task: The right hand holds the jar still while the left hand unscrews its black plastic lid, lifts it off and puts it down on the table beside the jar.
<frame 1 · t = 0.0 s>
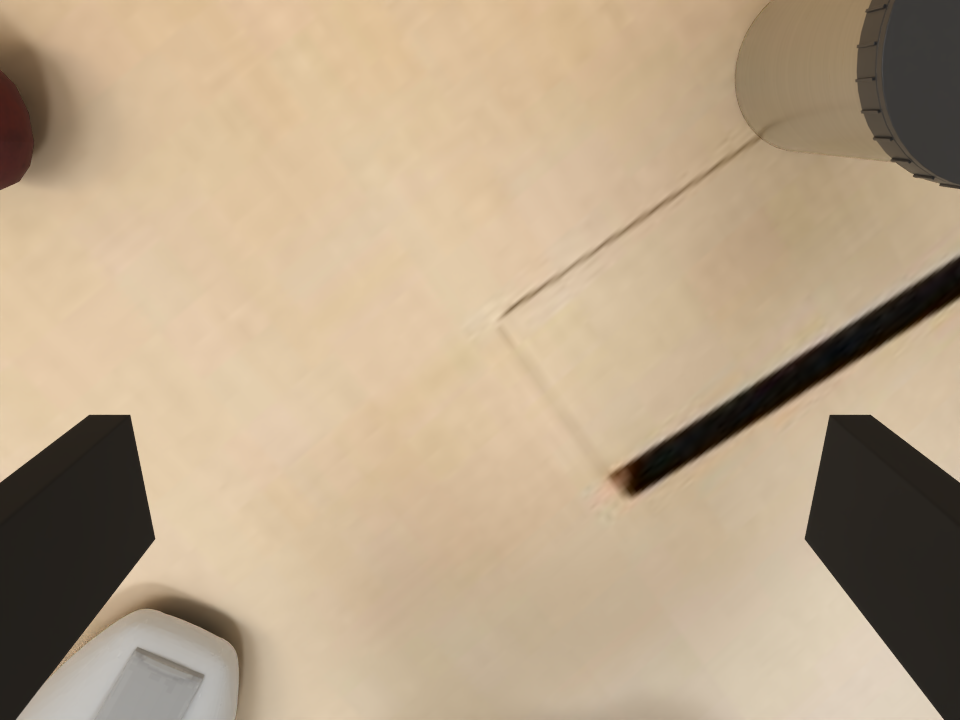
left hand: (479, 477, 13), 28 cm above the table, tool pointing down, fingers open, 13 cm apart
jar: (815, 68, 36), on the table
projector: (140, 709, 52), on the table
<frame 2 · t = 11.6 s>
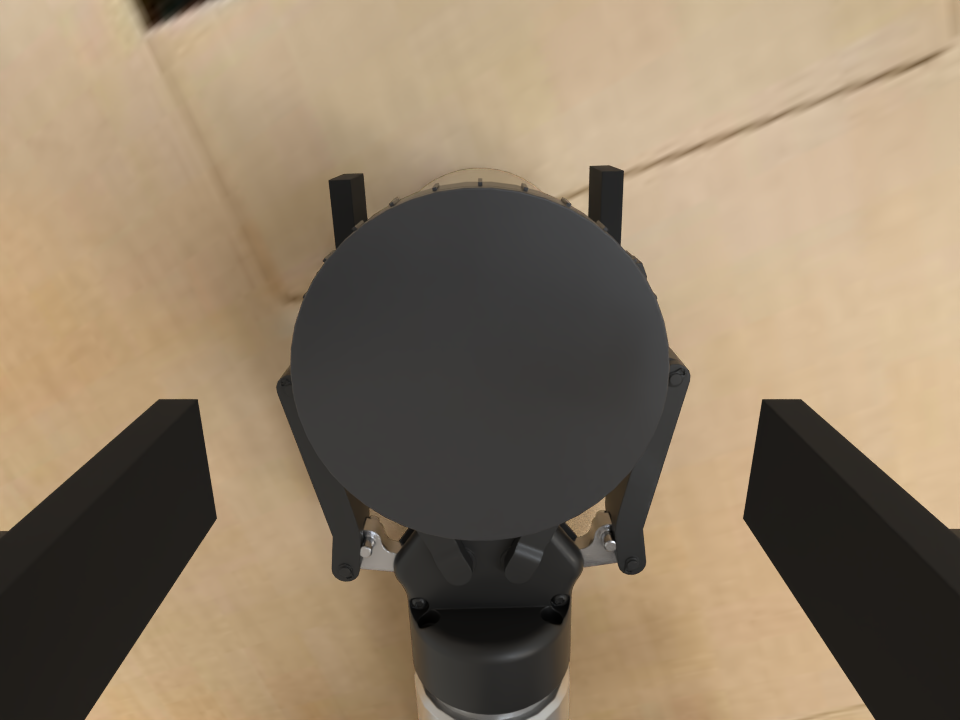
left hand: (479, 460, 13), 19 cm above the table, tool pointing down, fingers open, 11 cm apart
right hand: (475, 172, 24), fingers closed on jar, 9 cm apart
lid: (479, 377, 18), point 15 cm above the table, screwed on, not yet turned
jar: (480, 262, 31), on the table, touching right hand
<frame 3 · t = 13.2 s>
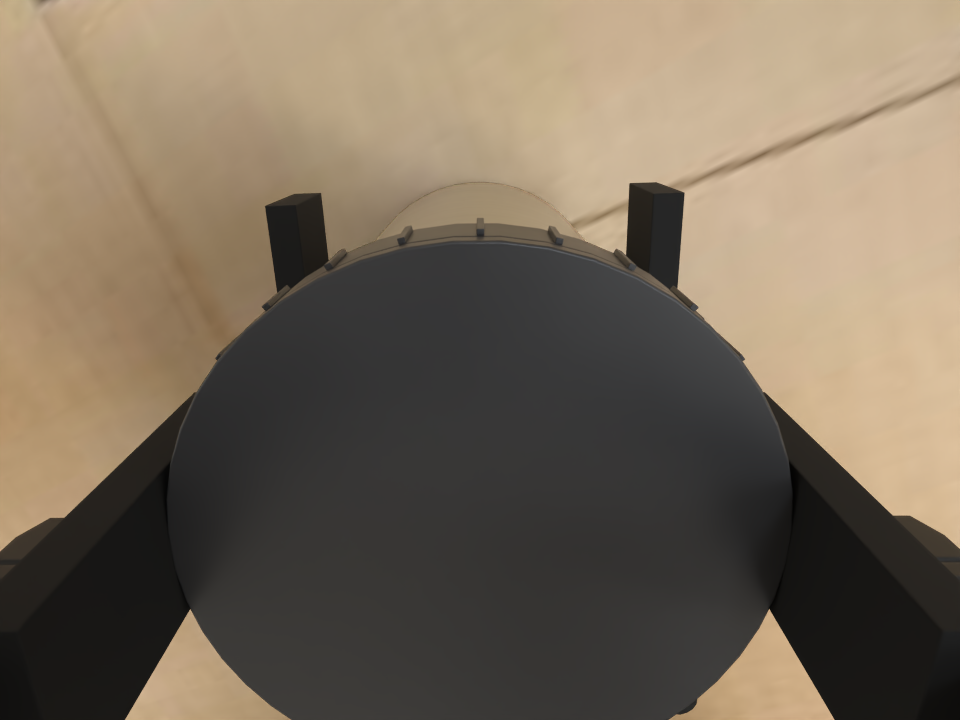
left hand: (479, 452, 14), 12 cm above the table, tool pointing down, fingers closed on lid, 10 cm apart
lid: (479, 537, 11), point 15 cm above the table, screwed on, not yet turned, touching left hand
jar: (479, 301, 25), on the table, touching right hand
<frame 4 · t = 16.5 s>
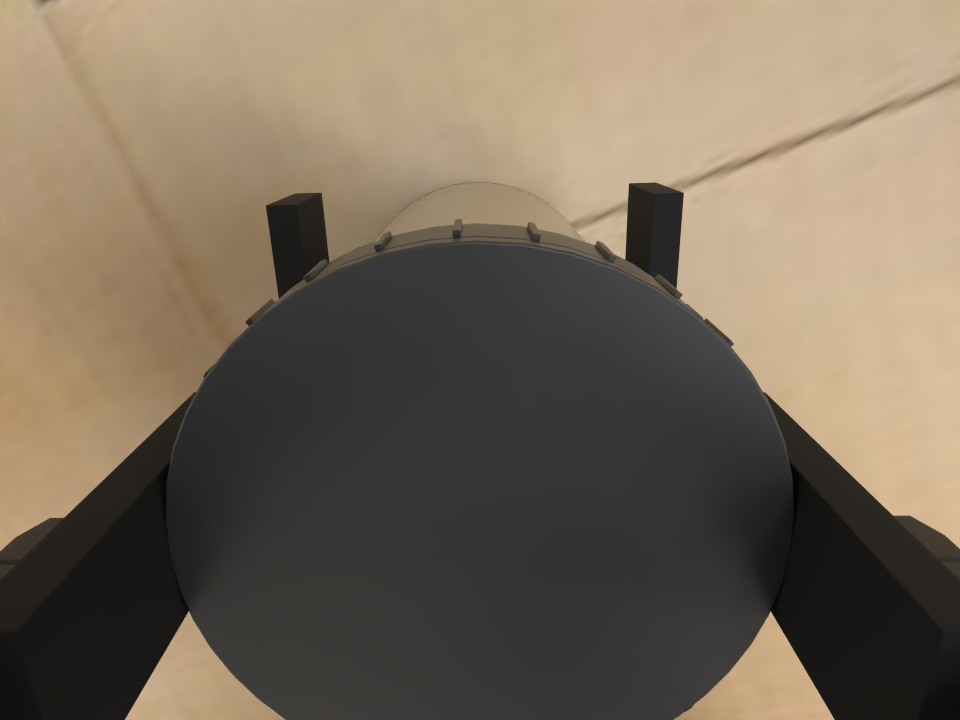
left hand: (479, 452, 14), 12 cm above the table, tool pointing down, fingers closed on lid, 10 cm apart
lid: (479, 539, 11), point 15 cm above the table, turned 94° so far, risen 0.1 cm, still on its thread, touching left hand
jar: (479, 301, 25), on the table, touching right hand
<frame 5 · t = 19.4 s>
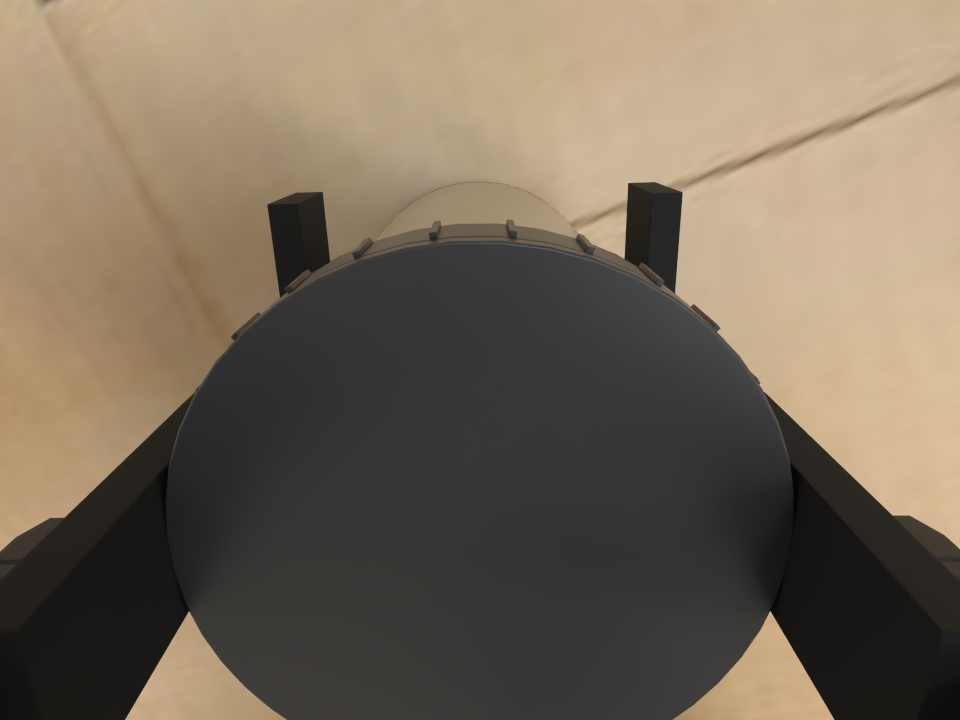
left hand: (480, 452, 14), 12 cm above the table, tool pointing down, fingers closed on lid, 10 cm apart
lid: (479, 539, 11), point 15 cm above the table, turned 188° so far, risen 0.2 cm, still on its thread, touching left hand
jar: (479, 300, 25), on the table, touching right hand
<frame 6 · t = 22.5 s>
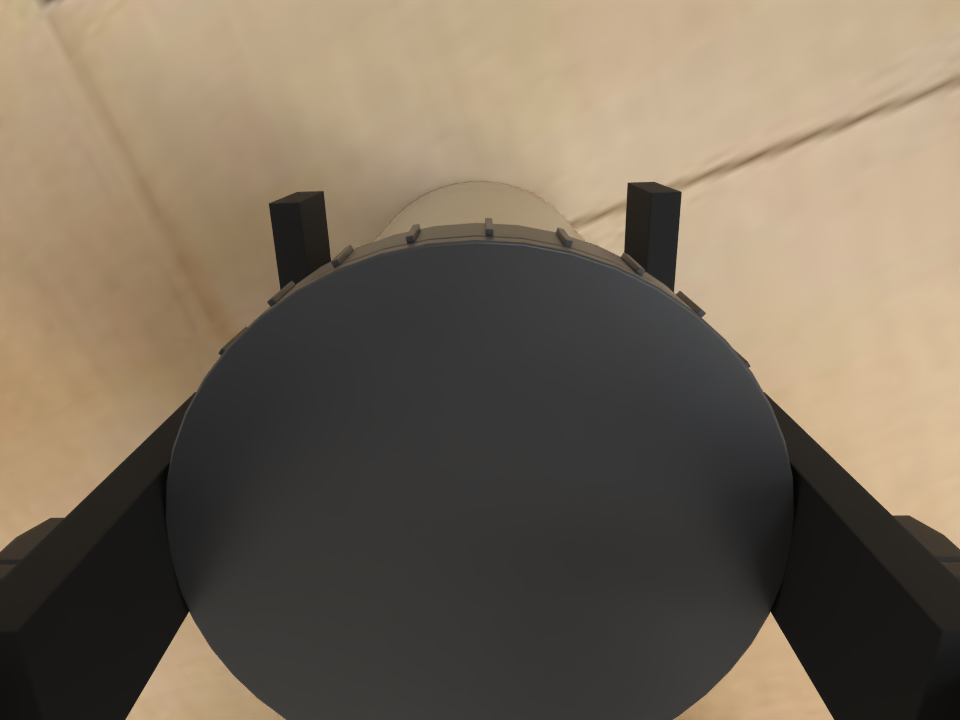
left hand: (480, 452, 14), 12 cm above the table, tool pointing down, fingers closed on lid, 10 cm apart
lid: (479, 539, 11), point 15 cm above the table, turned 282° so far, risen 0.3 cm, still on its thread, touching left hand
jar: (479, 299, 25), on the table, touching right hand
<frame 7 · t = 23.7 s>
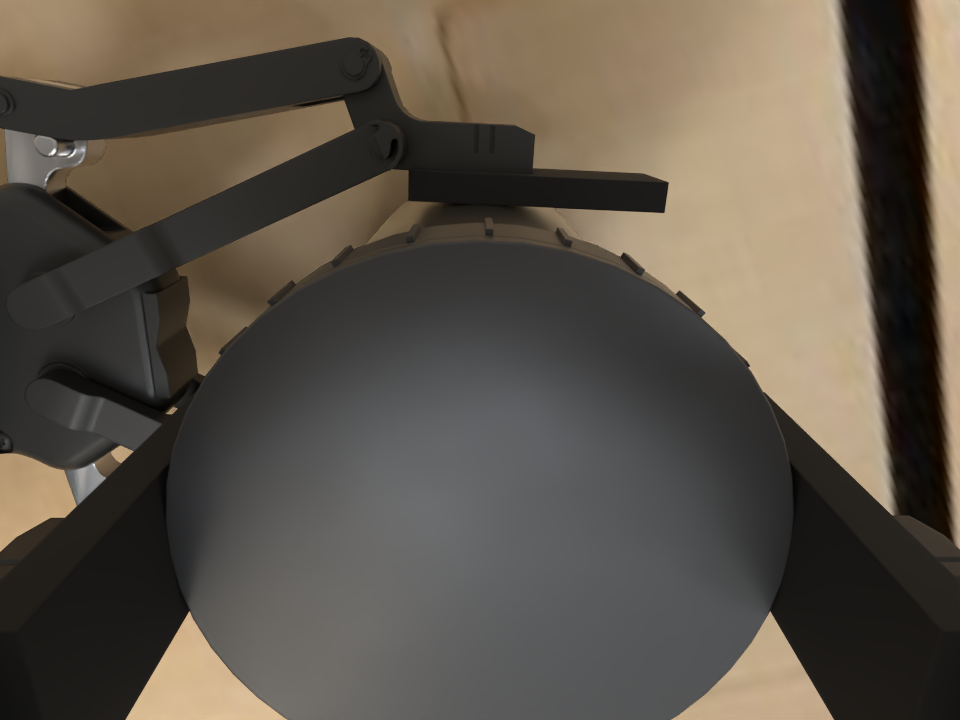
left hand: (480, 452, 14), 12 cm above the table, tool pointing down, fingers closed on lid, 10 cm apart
right hand: (630, 355, 20), fingers closed on jar, 9 cm apart
lid: (479, 538, 11), point 15 cm above the table, off its thread, touching left hand
jar: (476, 295, 25), on the table, touching right hand
when the left hand's fingers open (0 cm above the table, at t = 29.4 s): lid drops 2 cm, point 1 cm above the table.
when the right hand's fingers open (6 cm above the table, at t = 30.3 s): jar stays where it is, on the table.
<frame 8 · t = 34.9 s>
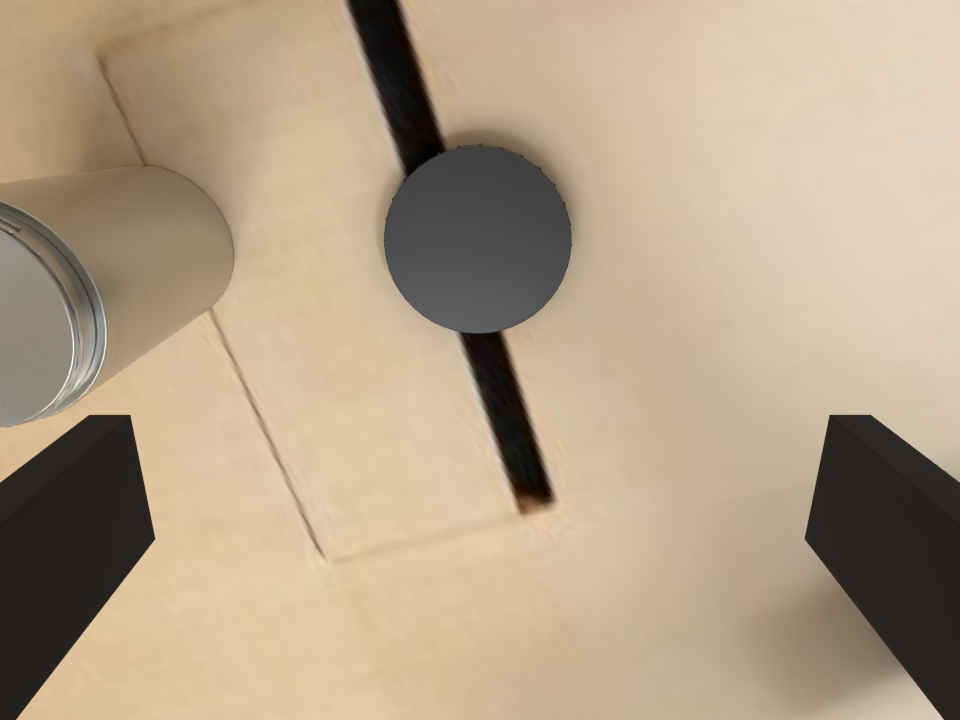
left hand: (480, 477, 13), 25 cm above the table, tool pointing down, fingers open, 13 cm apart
lid: (477, 243, 35), point 1 cm above the table, off its thread
jar: (154, 246, 36), on the table
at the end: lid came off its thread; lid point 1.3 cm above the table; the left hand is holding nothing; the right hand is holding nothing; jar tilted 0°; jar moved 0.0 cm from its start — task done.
